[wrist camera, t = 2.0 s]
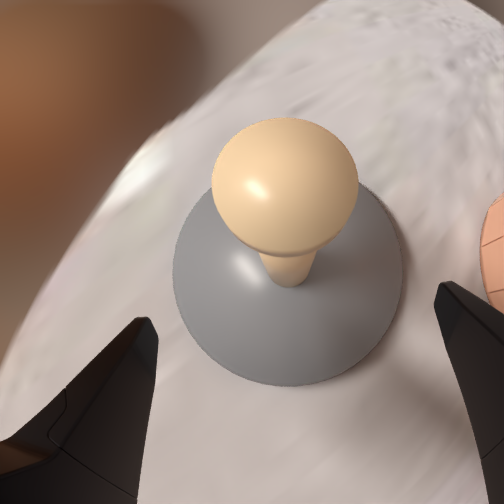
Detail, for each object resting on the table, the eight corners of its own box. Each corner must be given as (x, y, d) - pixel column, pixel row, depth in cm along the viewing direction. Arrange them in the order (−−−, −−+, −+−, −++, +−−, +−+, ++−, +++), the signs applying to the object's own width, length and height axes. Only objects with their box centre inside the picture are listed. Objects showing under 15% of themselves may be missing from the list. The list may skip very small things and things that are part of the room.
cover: (434, 294, 18) (582, 252, 6) (255, 422, 18) (204, 552, 5) (311, 133, 22) (319, -24, 9) (143, 242, 21) (7, 158, 9)
